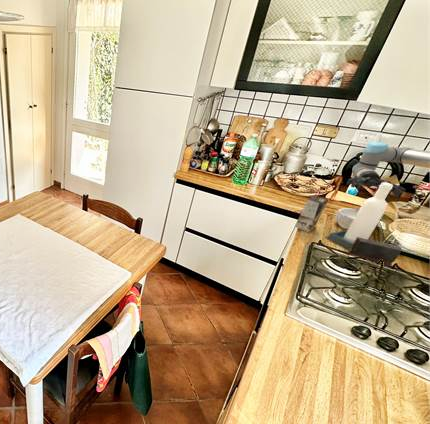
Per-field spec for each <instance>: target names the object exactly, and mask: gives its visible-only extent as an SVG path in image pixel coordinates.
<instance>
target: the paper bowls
mask: <svg viewBox="0 0 430 424" xmlns="http://www.w3.org/2000/svg"><path fill="white" fill-rule="evenodd" d="M358 211H359V209H357V208H352V207H351V208H350V207H342V208H340V209H338V211H337V213H336V215H335V216H334V219H335V221H336V222H338V223H337V224H338V225H339V227H341V228H342V229H344V230H348V229H349V227H350V225H351V224H352V222H353V220H354V218H355V216H356V215H357V213H358Z"/></svg>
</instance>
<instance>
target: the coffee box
mask: <svg viewBox="0 0 430 424" xmlns="http://www.w3.org/2000/svg"><path fill="white" fill-rule="evenodd" d="M328 202H329V199H328V198H325V197H321V196H317V195H312V196H311V197H310V198H307V201H306V202H305V205H304V206H303V209H302V211H301V213H300V215H299V217H298V219H297V221H296V223H295V225H294V227H295V228H297V229H299V230H302V231H305V232H307V233H310V231H312V230H313V229H314V228H316V226H317V224H318V222H319V220H320V218H321V216H322V214H323V212H324V209H325V208H326V206H327V204H328Z"/></svg>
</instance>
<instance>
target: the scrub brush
mask: <svg viewBox="0 0 430 424" xmlns="http://www.w3.org/2000/svg"><path fill="white" fill-rule="evenodd" d="M372 240H373V239H372ZM372 240H368V239H364V238H359V237H357V238H356V240H355V242H354V243H353V245H352V247H351V248H350V250H349V249H348V252H347V256H348V255H350V254H353V255H354V256H355V255H356V256H360V257H363V258H364V259H365V258H367V259H368V260H369V261H371V262H375V263H377V262H378V261H379V260H380V259H383V262H384V266H383V267H385V266H388V267H387V268H389V267H391V268H392V267H393V265H392V264H393V263H394V262H395V261H396V259H397V258H398V257H399V255H400V254H401V252H402V247H401V246H397V245H393V244H390V243H385V242H381V241H377V240H374V241H372ZM367 259H366V260H367Z"/></svg>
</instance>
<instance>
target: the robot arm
mask: <svg viewBox="0 0 430 424" xmlns="http://www.w3.org/2000/svg"><path fill="white" fill-rule="evenodd" d="M381 162H383V163H384V162H385V163H396V164H397V163H398V164H403V165H408V166H409V165H410V166H414V167H421V168H426V169H430V150H423V149H416V148H413V147H405V146H404V147H397V146H395V147H394V146H391V147H390V146H389V145H388V144H387V143H385V142H380V141H371V142H368V143H367V145H366V147H365V148H364V151H363V152H362V155H361V157H360V159H359V161H357V163H356V164H354V165H353V167H352V175H353V176H352V177H351V178H349V179H348V180H347V183H346V185H348V186H350V187H351V188H355V189H356V191H357V192H358V193H359V192H361V190H362V188H363V187H365V188H370V187H371V188H372V187H373V188H377V189H379V186H380V185H381V183H384V182H385V183H390V184H392V185H393V187H392V189H391V190H390V192H391V193H392V194H393V196H394V197H395V198H396V199H400V198H401V196H402V195H403V194H404V192H405V191H406V188H405V187H403V186H400V185H398V184H395V183H393V182H391V181H390V180H386V181H385V180H382V179H381V176H380V174H379V173H378V172H377V171H376V169H377V168H378V166H379V165H380V163H381Z"/></svg>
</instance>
